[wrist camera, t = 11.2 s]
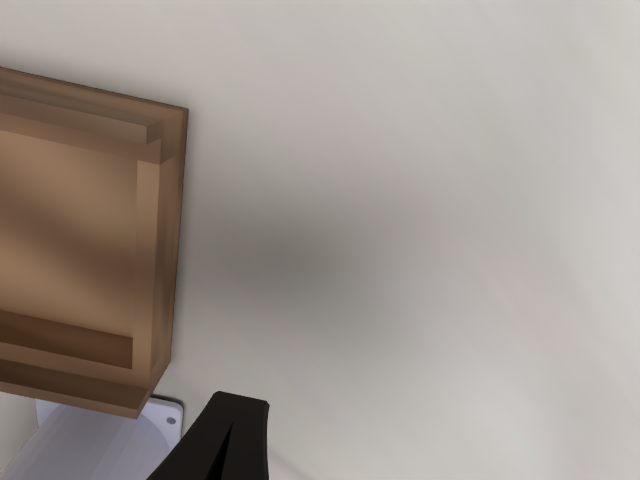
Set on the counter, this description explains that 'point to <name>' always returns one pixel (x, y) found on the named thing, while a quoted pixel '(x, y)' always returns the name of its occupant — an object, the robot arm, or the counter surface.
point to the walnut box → (87, 242)
